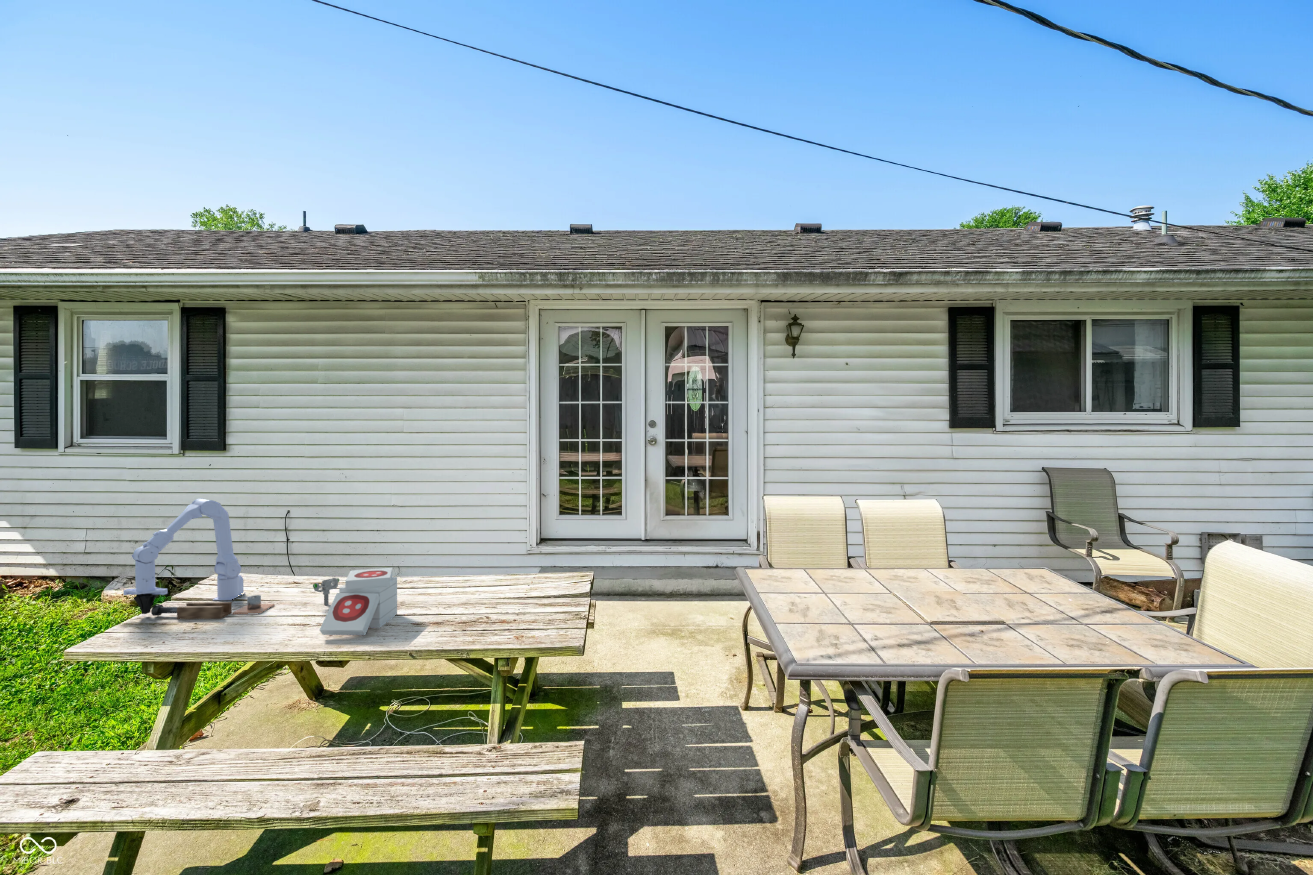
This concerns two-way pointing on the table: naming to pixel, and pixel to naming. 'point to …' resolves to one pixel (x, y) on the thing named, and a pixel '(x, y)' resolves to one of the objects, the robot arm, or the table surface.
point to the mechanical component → (326, 588)
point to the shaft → (162, 610)
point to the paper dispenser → (362, 603)
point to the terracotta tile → (260, 610)
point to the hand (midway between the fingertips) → (146, 613)
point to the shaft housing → (204, 610)
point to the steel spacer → (254, 602)
